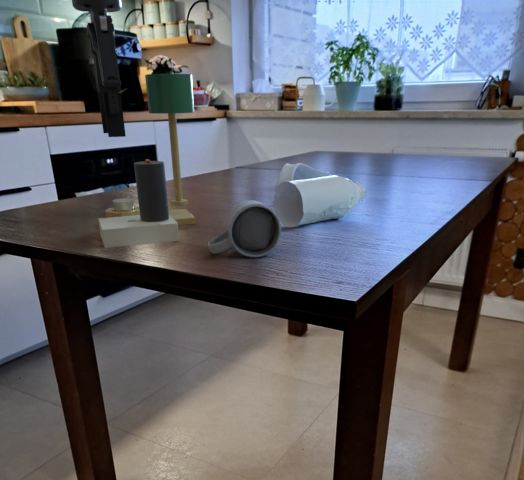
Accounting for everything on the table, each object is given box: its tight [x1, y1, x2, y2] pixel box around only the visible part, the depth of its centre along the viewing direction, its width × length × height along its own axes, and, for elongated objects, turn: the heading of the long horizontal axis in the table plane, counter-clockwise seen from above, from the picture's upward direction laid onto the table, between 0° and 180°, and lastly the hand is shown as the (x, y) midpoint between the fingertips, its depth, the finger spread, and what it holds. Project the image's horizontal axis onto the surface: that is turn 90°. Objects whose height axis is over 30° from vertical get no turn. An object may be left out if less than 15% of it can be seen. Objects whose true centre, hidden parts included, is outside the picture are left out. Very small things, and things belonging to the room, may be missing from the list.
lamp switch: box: [112, 198, 134, 212], centre depth 95 cm, size 4×4×2 cm
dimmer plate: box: [97, 215, 181, 249], centre depth 87 cm, size 14×9×3 cm, turn 110°
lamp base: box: [105, 205, 197, 226], centre depth 98 cm, size 16×9×3 cm, turn 110°
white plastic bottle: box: [271, 174, 367, 228], centre depth 97 cm, size 8×19×8 cm, turn 128°
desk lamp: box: [144, 73, 195, 207], centre depth 94 cm, size 8×8×22 cm
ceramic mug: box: [207, 199, 282, 258], centre depth 78 cm, size 11×8×8 cm
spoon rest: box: [274, 162, 331, 194], centre depth 127 cm, size 24×12×7 cm, turn 160°
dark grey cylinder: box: [133, 158, 169, 222], centre depth 85 cm, size 5×5×9 cm
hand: (114, 134), depth 90 cm, fingers open, 10 cm apart
